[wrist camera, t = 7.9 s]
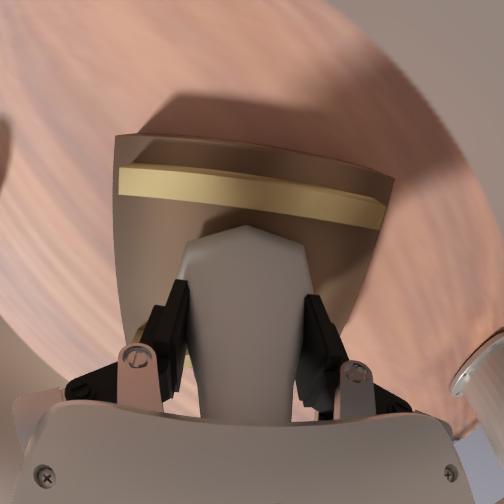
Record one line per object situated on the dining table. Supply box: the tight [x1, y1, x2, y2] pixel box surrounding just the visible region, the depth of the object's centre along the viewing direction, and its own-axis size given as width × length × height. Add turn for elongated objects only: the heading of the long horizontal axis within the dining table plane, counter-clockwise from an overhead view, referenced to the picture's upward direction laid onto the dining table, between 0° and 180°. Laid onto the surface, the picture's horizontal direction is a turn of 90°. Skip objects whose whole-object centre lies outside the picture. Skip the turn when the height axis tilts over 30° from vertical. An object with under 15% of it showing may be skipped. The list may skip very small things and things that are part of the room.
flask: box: [176, 225, 314, 422], centre depth 10 cm, size 7×7×10 cm
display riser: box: [113, 133, 395, 368], centre depth 15 cm, size 14×14×4 cm
